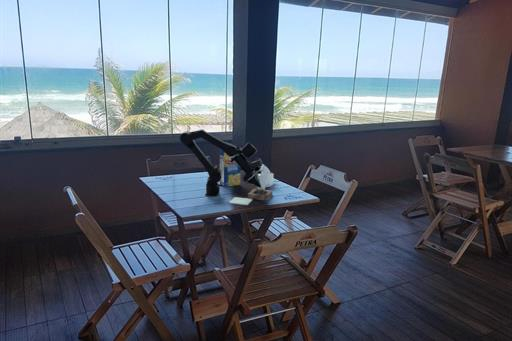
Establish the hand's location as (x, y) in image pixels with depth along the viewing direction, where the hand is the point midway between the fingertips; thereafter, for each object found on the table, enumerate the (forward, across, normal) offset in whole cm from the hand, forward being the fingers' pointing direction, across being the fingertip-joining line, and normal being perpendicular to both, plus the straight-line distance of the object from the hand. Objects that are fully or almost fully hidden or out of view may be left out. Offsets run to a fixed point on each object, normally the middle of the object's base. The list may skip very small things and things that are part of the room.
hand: (262, 184), depth 204 cm
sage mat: (-1, -12, +11) cm, 16 cm away
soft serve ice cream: (+1, +25, +9) cm, 26 cm away
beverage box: (-13, +19, +23) cm, 32 cm away
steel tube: (+4, 0, +6) cm, 7 cm away
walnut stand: (+4, 0, +6) cm, 7 cm away
